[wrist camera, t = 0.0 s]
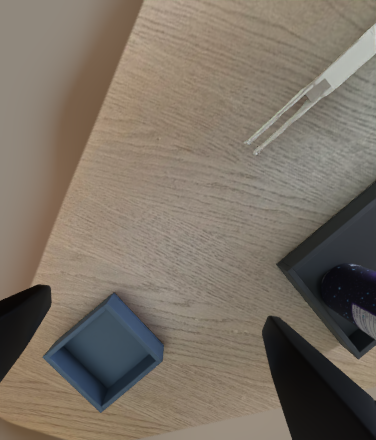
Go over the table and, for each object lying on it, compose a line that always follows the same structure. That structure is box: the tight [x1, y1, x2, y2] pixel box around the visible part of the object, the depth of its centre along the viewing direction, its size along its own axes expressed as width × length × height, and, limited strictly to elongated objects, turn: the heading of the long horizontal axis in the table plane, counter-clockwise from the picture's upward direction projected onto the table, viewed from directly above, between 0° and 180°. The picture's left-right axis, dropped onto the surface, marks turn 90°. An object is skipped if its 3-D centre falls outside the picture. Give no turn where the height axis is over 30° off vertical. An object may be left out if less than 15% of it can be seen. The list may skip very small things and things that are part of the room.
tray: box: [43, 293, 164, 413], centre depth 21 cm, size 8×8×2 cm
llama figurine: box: [244, 23, 376, 156], centre depth 18 cm, size 2×11×18 cm
